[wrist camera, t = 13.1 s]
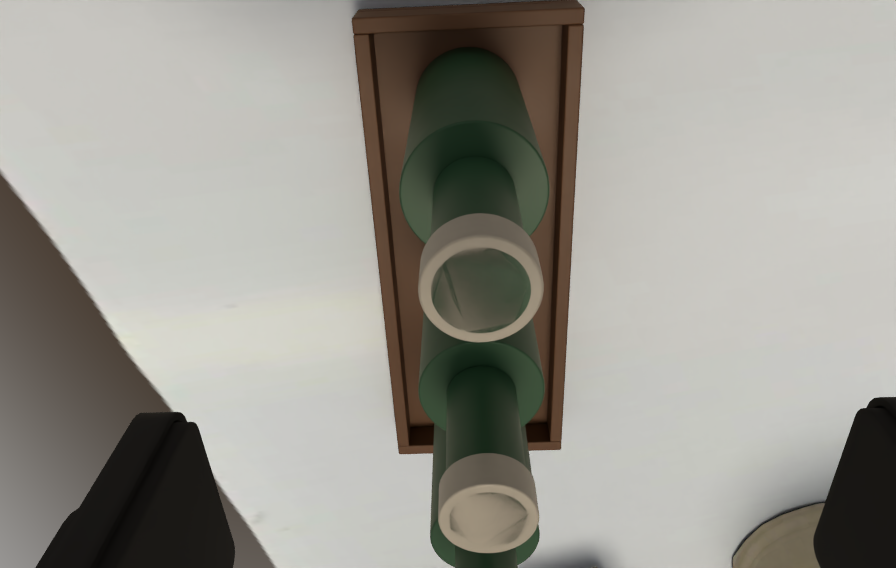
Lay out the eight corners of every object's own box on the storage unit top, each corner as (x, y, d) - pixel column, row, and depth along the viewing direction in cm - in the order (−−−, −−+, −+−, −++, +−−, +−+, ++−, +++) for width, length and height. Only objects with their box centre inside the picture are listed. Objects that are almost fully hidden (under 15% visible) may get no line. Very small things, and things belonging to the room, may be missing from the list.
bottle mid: (410, 241, 32) (379, 499, 18) (493, 198, 31) (524, 439, 17) (455, 310, 34) (457, 589, 20) (536, 272, 33) (593, 541, 19)
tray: (358, 9, 27) (351, 18, 25) (576, -1, 27) (584, 7, 25) (401, 427, 38) (398, 454, 37) (555, 423, 38) (561, 450, 36)
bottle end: (420, 369, 36) (400, 660, 22) (494, 335, 34) (521, 620, 21) (461, 424, 38) (465, 723, 24) (532, 394, 36) (579, 690, 23)
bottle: (395, 80, 28) (342, 258, 15) (489, 25, 27) (526, 163, 14) (448, 168, 30) (443, 396, 17) (538, 120, 29) (611, 323, 16)
